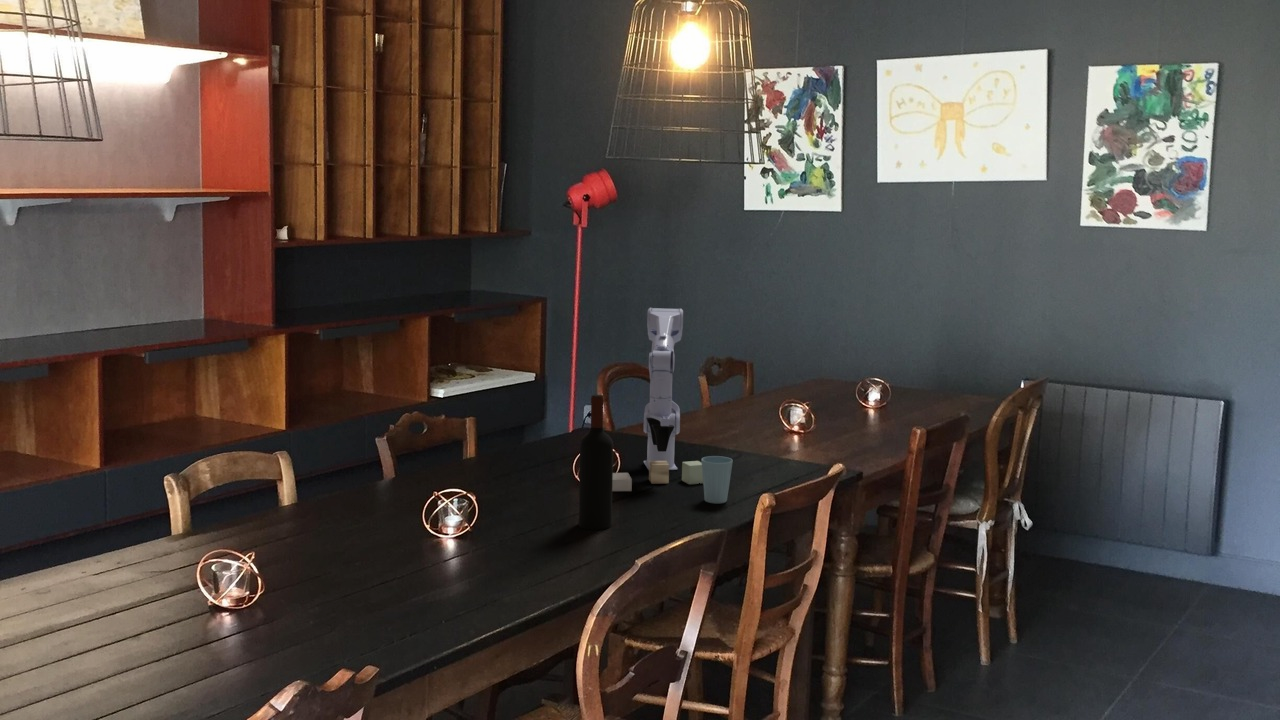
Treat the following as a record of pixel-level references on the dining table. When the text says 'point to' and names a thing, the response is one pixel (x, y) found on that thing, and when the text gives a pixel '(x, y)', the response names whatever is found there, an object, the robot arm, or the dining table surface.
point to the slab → (622, 482)
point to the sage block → (692, 472)
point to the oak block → (658, 472)
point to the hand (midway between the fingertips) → (659, 448)
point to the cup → (716, 478)
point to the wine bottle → (596, 472)
